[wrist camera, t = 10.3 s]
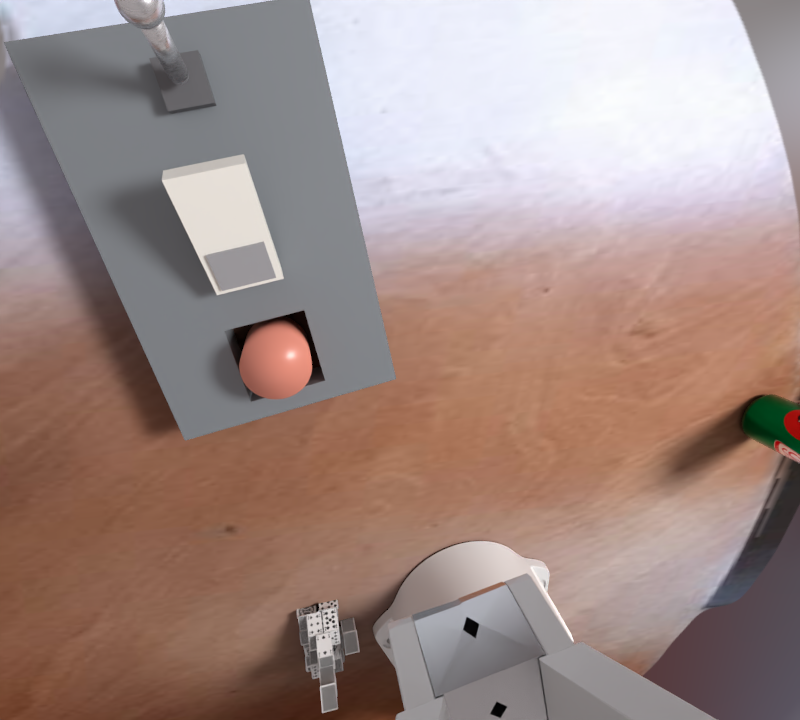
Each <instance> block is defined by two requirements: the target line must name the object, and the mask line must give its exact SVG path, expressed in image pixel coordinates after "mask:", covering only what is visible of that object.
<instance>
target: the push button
mask: <svg viewBox="0 0 800 720" xmlns="http://www.w3.org/2000/svg"><path fill="white" fill-rule="evenodd" d="M239 370H240V375H241V378H242V380H243V382H244V383H245V385H246V386H247V387H248V388H249V389H250V390H251V391H252V392H254V393H255V394H257V395H259V396H261V397H264V398H267V399H284V398H288V397H291V396H293V395H295V394H296V393H298V392H299V391H301V390H302V389H303V388H304V387H305V385H306V384H307V383H308V381H309V379H310V376H311V372H312V360H311V354H310V348H309V342H308V338H307V335H306V333H305V331H304V329H303V328H302V327H301V326H300V325H299V324H298V323H297V322H295V321H294V320H292V319H290V318H287V317H283V316H280V317H276V318H272V319H268V320H264V321H261V322H257V323H255V324H254V325H253V326H252V327H251V329H250V330H249V332H248V334H247V337H246V340H245V344H244V347H243V351H242V354H241V358H240V363H239Z"/></svg>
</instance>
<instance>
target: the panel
mask: <svg viewBox="0 0 800 720" xmlns="http://www.w3.org/2000/svg"><path fill="white" fill-rule="evenodd" d="M163 21H164V23H165V25H166V27H167V29H168V31H169V33H170V35H171V38H172V40H173V42H174V44H175V46H176V48H177V50H178V52H179V54H180V56H181V58H182V60H183V62H184V64H185V66H186V68H187V70H188V73H189V78H188V81H187V82H186V83H185V84H182V85H178V84H175V83H174V82H172V81H171V80H170V79H169V77H168V76H167V74H166V72H165V70H164V69H163V67H162V65H161V63H160V62H159V60H158V58H157V56H156V55H155V53H154V51H153V49H152V48H151V46H150V44H149V42H148V41H147V39H146V37H145V35H144V34H143V32H142V30H141V29H140V28H137V27H135V26H133V25H132V24H130V23H125V24H119V25H112V26H106V27H99V28H93V29H86V30H80V31H74V32H67V33H61V34H54V35H48V36H41V37H35V38H28V39H22V40H16V41H9V42H4V44H5V46H6V48H7V51H8V53H9V55H10V57H11V59H12V62H13V64H14V66H15V68H16V70H17V73H18V75H19V77H20V79H21V81H22V84H23V86H24V88H25V90H26V92H27V95H28V97H29V99H30V101H31V103H32V106H33V108H34V110H35V112H36V114H37V117H38V119H39V121H40V123H41V125H42V128H43V130H44V132H45V134H46V136H47V139H48V141H49V143H50V145H51V147H52V150H53V152H54V154H55V156H56V158H57V161H58V163H59V165H60V167H61V169H62V172H63V174H64V176H65V178H66V180H67V183H68V185H69V187H70V189H71V191H72V193H73V196H74V198H75V200H76V202H77V204H78V207H79V209H80V211H81V213H82V215H83V218H84V220H85V222H86V224H87V226H88V229H89V231H90V233H91V235H92V237H93V240H94V242H95V244H96V246H97V248H98V251H99V253H100V255H101V257H102V259H103V262H104V264H105V266H106V268H107V270H108V273H109V275H110V277H111V279H112V281H113V284H114V286H115V288H116V290H117V292H118V295H119V297H120V299H121V301H122V303H123V306H124V308H125V310H126V312H127V314H128V317H129V319H130V321H131V323H132V325H133V328H134V330H135V332H136V334H137V336H138V339H139V341H140V343H141V345H142V347H143V350H144V352H145V354H146V356H147V358H148V360H149V363H150V365H151V367H152V369H153V371H154V374H155V376H156V378H157V380H158V382H159V385H160V387H161V389H162V391H163V393H164V396H165V398H166V400H167V402H168V404H169V407H170V409H171V411H172V413H173V415H174V418H175V420H176V422H177V424H178V426H179V429H180V431H181V433H182V435H183V437H184V440H189V439H192V438H195V437H199V436H202V435H206V434H209V433H213V432H216V431H219V430H223V429H226V428H230V427H233V426H237V425H240V424H244V423H247V422H250V421H254V420H257V419H261V418H264V417H268V416H271V415H274V414H278V413H281V412H285V411H288V410H292V409H295V408H298V407H302V406H305V405H309V404H312V403H316V402H319V401H322V400H326V399H329V398H333V397H336V396H340V395H343V394H346V393H350V392H353V391H357V390H360V389H364V388H367V387H370V386H374V385H377V384H381V383H384V382H388V381H391V380H394V379H396V376H395V372H394V367H393V363H392V359H391V354H390V350H389V346H388V341H387V337H386V332H385V328H384V324H383V319H382V315H381V311H380V306H379V302H378V298H377V293H376V289H375V284H374V280H373V276H372V271H371V267H370V263H369V258H368V254H367V249H366V245H365V241H364V236H363V232H362V228H361V223H360V219H359V214H358V210H357V206H356V201H355V197H354V193H353V188H352V184H351V180H350V175H349V171H348V166H347V162H346V158H345V153H344V149H343V145H342V140H341V136H340V131H339V127H338V123H337V118H336V114H335V110H334V105H333V101H332V96H331V92H330V88H329V83H328V79H327V75H326V70H325V66H324V61H323V57H322V53H321V48H320V44H319V40H318V35H317V31H316V27H315V22H314V18H313V13H312V9H311V5H310V0H273V1H267V2H260V3H254V4H248V5H241V6H235V7H228V8H222V9H215V10H209V11H202V12H196V13H190V14H183V15H177V16H170V17H164V19H163ZM242 154H244V156H245V159H246V162H247V165H248V168H249V171H250V174H251V177H252V180H253V183H254V186H255V189H256V192H257V195H258V198H259V201H260V204H261V207H262V210H263V214H264V217H265V220H266V223H267V226H268V229H269V232H270V235H271V238H272V241H273V244H274V247H275V250H276V253H277V256H278V259H279V262H280V265H281V268H282V272H283V277H284V279H281V280H277V281H273V282H269V283H265V284H261V285H257V286H253V287H249V288H245V289H241V290H236V291H232V292H228V293H224V294H220V295H217V294H216V292H215V290H214V288H213V286H212V284H211V282H210V280H209V277H208V275H207V273H206V271H205V269H204V267H203V265H202V263H201V261H200V259H199V257H198V255H197V253H196V250H195V248H194V246H193V244H192V242H191V240H190V238H189V236H188V234H187V232H186V230H185V228H184V226H183V224H182V221H181V219H180V217H179V215H178V213H177V211H176V209H175V207H174V205H173V203H172V201H171V199H170V197H169V195H168V192H167V190H166V188H165V186H164V184H163V182H162V175H163V170H168V169H173V168H178V167H183V166H188V165H193V164H198V163H202V162H207V161H212V160H217V159H222V158H227V157H232V156H237V155H242ZM303 310H304V311H305V314H306V318H307V321H308V324H309V328H310V331H311V335H312V338H313V341H314V345H315V348H316V351H317V355H318V358H319V362H320V365H321V366H320V367H317V368H313V369H312V372H311V376H310V379H309V381H308V383H307V384H306V385H305V387H304V388H303V389H302V390H301V391H299V392H298V393H296V394H295V395H293V396H291V397H288V398H284V399H267V398H264V397H261V396H259V395H257V394H255V393H254V392H252V391H251V390H250V389H249V388H248V387H247V386H246V385H245V383H244V382H243V380H242V378H241V375H240V370H239V363H240V358H241V354H242V352H241V350H240V347H239V344H238V342H237V339H236V336H235V333H234V331H233V329H234V328H237V327H241V326H245V325H249V324H253V323H257V322H261V321H264V320H268V319H272V318H276V317H280V316H284V315H288V314H291V313H295V312H299V311H303Z"/></svg>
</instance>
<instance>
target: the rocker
mask: <svg viewBox="0 0 800 720" xmlns="http://www.w3.org/2000/svg"><path fill="white" fill-rule="evenodd" d="M162 182H163V184H164V186H165V188H166V190H167V192H168V195H169V197H170V199H171V201H172V203H173V205H174V207H175V209H176V211H177V213H178V215H179V217H180V219H181V221H182V224H183V226H184V228H185V230H186V232H187V234H188V236H189V238H190V240H191V242H192V244H193V246H194V248H195V250H196V253H197V255H198V257H199V259H200V261H201V263H202V265H203V267H204V269H205V271H206V273H207V275H208V277H209V280H210V282H211V284H212V286H213V288H214V290H215V292H216V294H217V295H220V294H224V293H228V292H232V291H236V290H241V289H245V288H249V287H253V286H257V285H261V284H265V283H269V282H273V281H277V280H281V279H284V277H283V272H282V268H281V265H280V262H279V259H278V256H277V253H276V250H275V247H274V244H273V241H272V238H271V235H270V232H269V229H268V226H267V223H266V220H265V217H264V214H263V210H262V207H261V204H260V201H259V198H258V195H257V192H256V189H255V186H254V183H253V180H252V177H251V174H250V171H249V168H248V165H247V162H246V159H245V156H244V154H242V155H237V156H232V157H227V158H222V159H217V160H212V161H207V162H202V163H198V164H193V165H188V166H183V167H178V168H173V169H168V170H163V175H162Z"/></svg>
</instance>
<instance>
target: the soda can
mask: <svg viewBox="0 0 800 720" xmlns="http://www.w3.org/2000/svg"><path fill="white" fill-rule="evenodd" d="M741 423H742V428H743V431H744V433H745V434H746V436H748V437H749V438H751V439H753V440H755V441H757V442H759V443H761V444H763V445H765V446H767V447H769V448H771V449H772V450H774V451H776V452H778V453H780V454H782V455H784V456H786V457H788V458H790V459H792V460H794V461H796V462H798V463H800V404H797V403H795V402H792V401H790V400H787V399H785V398H782V397H780V396H777V395H766V396H762V397H759V398H757V399H756V400H754V401H753V402H752V403H751V404H750V405H749V406H748V407H747V408H746V410H745V412H744V414H743V416H742V421H741Z"/></svg>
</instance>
